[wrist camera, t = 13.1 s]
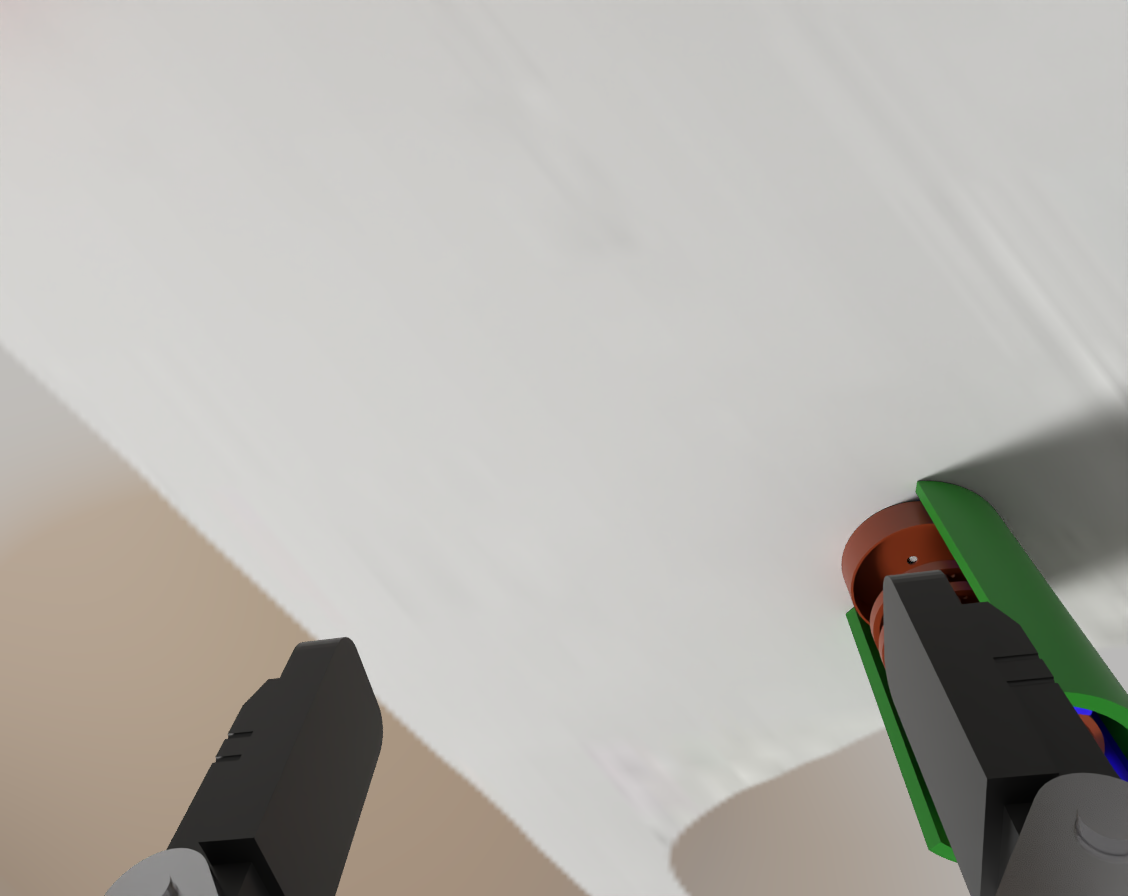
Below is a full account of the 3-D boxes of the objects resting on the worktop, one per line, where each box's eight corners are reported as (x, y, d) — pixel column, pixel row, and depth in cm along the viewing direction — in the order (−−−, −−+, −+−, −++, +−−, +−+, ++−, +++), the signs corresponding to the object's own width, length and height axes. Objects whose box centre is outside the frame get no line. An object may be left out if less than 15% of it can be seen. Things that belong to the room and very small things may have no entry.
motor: (856, 478, 45) (1012, 783, 28) (1026, 483, 45) (1296, 796, 27) (828, 626, 50) (945, 968, 32) (982, 632, 50) (1186, 980, 32)
